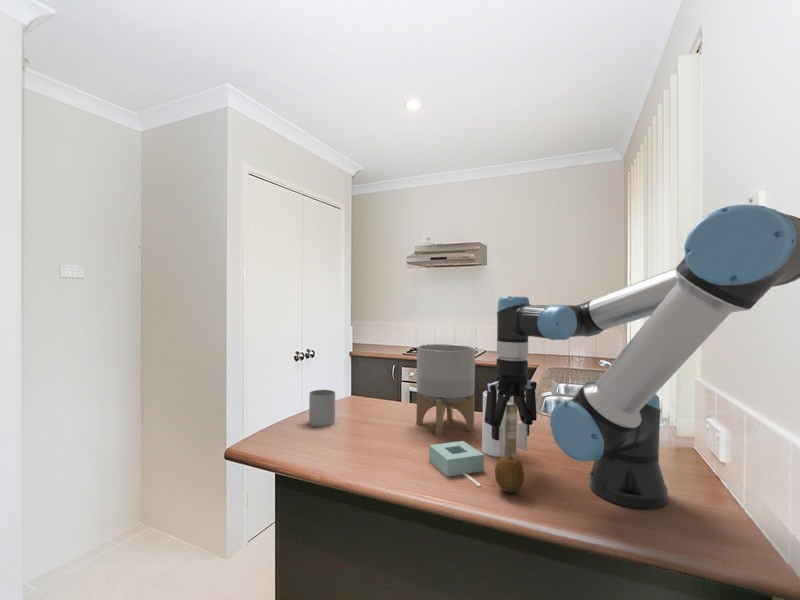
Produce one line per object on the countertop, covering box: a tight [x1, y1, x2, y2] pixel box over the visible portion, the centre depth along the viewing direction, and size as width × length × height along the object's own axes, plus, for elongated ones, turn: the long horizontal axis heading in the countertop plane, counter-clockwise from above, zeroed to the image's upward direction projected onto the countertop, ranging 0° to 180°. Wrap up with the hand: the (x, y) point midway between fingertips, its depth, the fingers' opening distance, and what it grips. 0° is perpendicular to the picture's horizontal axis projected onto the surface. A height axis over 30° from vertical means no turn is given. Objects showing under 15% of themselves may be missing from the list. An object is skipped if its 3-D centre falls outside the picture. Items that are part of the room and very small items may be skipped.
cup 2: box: [481, 389, 514, 458], centre depth 114 cm, size 8×8×16 cm
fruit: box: [494, 455, 525, 493], centre depth 90 cm, size 6×6×8 cm
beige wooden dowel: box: [504, 402, 518, 458], centre depth 103 cm, size 3×3×16 cm
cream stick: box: [462, 473, 482, 488], centre depth 96 cm, size 7×1×1 cm, turn 21°
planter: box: [415, 343, 476, 437], centre depth 135 cm, size 19×19×26 cm
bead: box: [428, 440, 485, 478], centre depth 104 cm, size 10×10×4 cm
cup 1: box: [308, 389, 336, 428], centre depth 137 cm, size 8×8×10 cm
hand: (510, 450), depth 103 cm, fingers open, 6 cm apart
